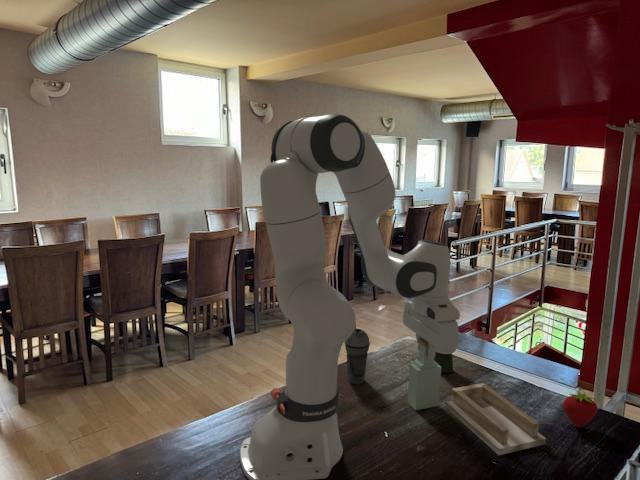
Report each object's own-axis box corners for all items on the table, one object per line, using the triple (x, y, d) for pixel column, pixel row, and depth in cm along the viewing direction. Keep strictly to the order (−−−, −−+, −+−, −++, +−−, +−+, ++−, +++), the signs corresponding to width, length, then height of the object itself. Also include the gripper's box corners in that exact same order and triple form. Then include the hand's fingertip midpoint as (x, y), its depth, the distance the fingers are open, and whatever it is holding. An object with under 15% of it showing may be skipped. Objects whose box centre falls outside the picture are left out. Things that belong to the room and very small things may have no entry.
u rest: (498, 455, 97) (500, 434, 96) (445, 407, 115) (447, 389, 114) (545, 444, 101) (547, 424, 100) (486, 399, 119) (488, 382, 119)
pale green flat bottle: (415, 410, 114) (419, 344, 110) (407, 402, 117) (411, 338, 114) (438, 405, 116) (443, 341, 113) (430, 398, 120) (434, 335, 116)
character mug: (461, 377, 131) (465, 336, 129) (439, 379, 130) (442, 338, 127) (444, 361, 142) (447, 323, 139) (424, 363, 140) (426, 324, 138)
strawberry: (555, 419, 111) (560, 382, 109) (586, 420, 111) (591, 383, 109) (568, 433, 105) (573, 395, 103) (600, 434, 105) (605, 396, 103)
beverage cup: (367, 387, 124) (369, 320, 121) (341, 384, 126) (343, 318, 122) (369, 375, 132) (372, 311, 128) (345, 372, 133) (347, 309, 129)
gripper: (398, 292, 120) (396, 339, 123) (441, 317, 101) (437, 373, 104) (418, 290, 122) (415, 337, 125) (464, 315, 103) (460, 370, 106)
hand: (426, 354), depth 114 cm, fingers closed on pale green flat bottle, 3 cm apart
